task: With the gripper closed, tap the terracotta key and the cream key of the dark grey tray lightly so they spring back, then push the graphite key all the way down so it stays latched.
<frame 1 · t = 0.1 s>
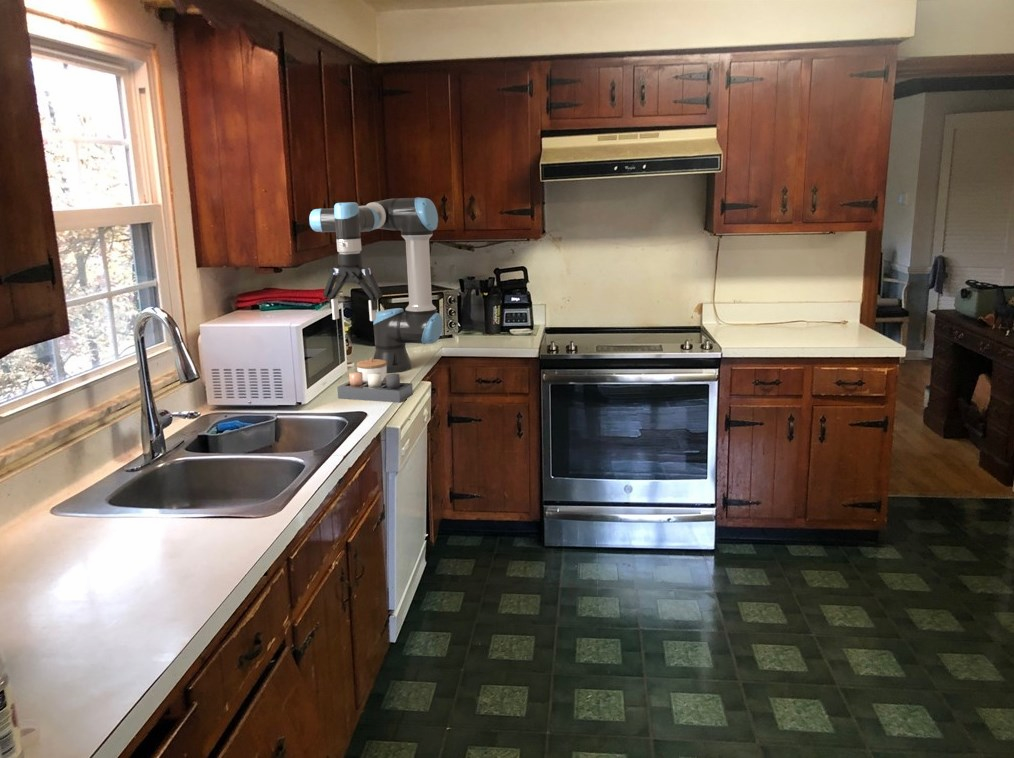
hand: (354, 319, 253), 28 cm above the worktop, fingers open, 13 cm apart
lidded jar: (373, 383, 287), on the worktop
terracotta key: (356, 380, 269), point 5 cm above the worktop, slide at 0.0 cm
cream key: (374, 381, 267), point 5 cm above the worktop, slide at 0.0 cm
dark grey tray: (375, 396, 268), on the worktop
graphite key: (393, 382, 265), point 5 cm above the worktop, slide at 0.0 cm
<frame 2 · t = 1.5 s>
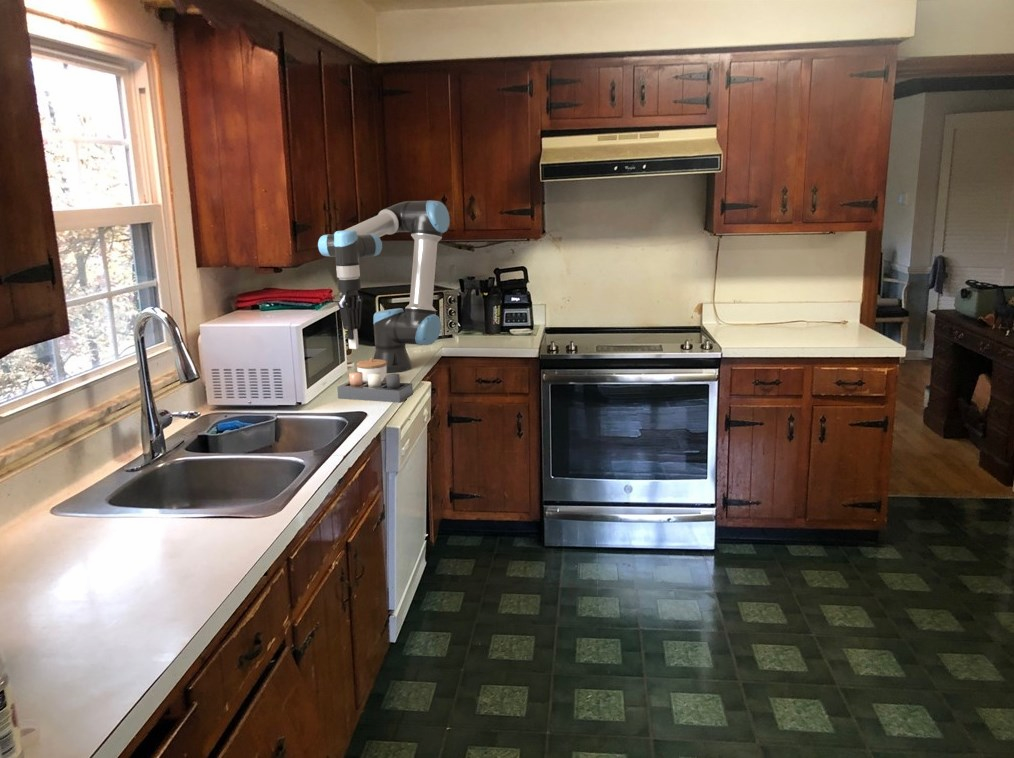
hand: (353, 348, 266), 16 cm above the worktop, fingers closed
nothing on the worktop moved.
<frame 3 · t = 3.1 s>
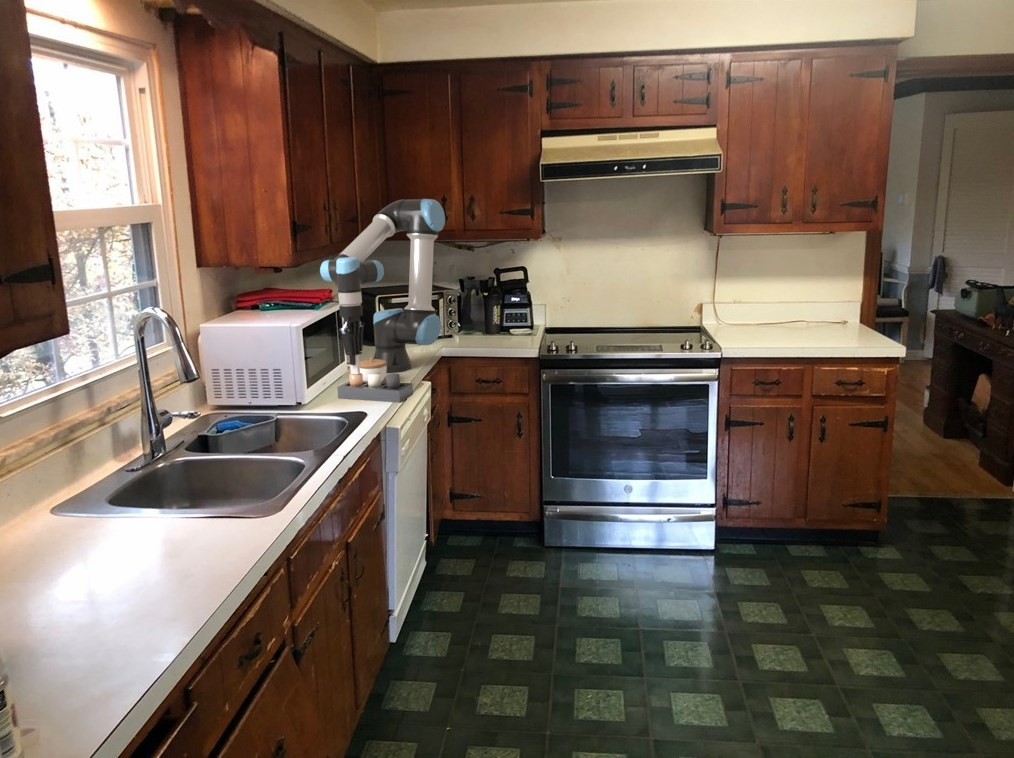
hand: (355, 373, 268), 8 cm above the worktop, fingers closed
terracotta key: (356, 381, 269), point 5 cm above the worktop, slide at 0.4 cm, touching gripper
everything else where it was.
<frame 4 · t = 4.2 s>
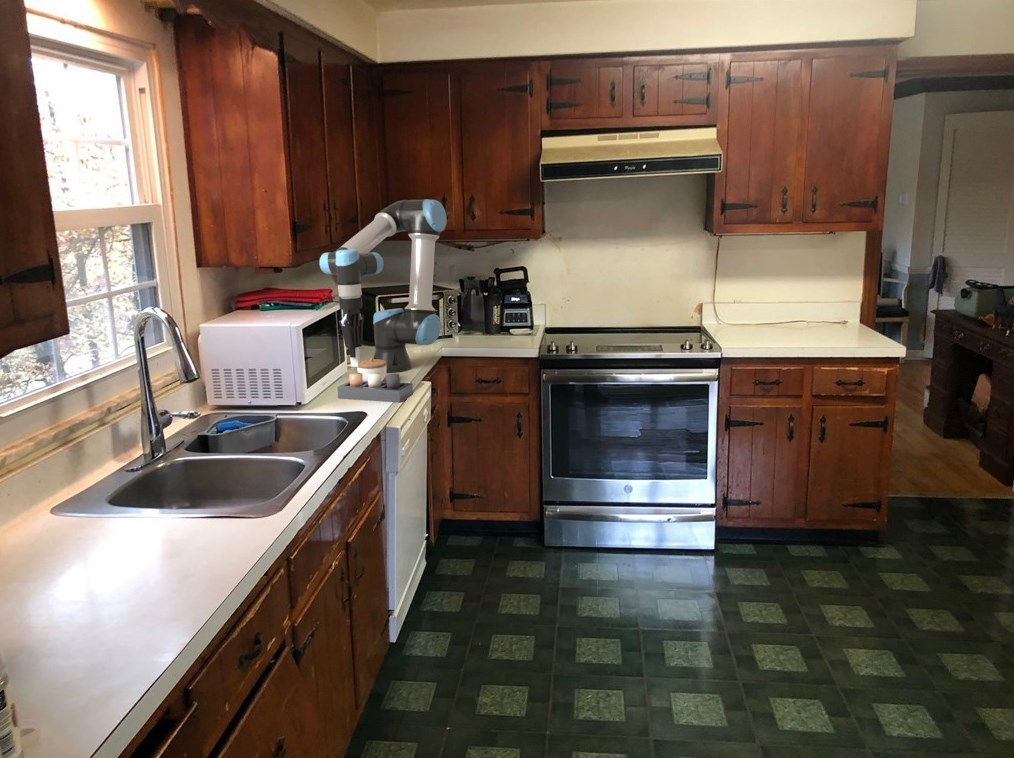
hand: (355, 366, 268), 10 cm above the worktop, fingers closed
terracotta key: (356, 381, 269), point 5 cm above the worktop, slide at 0.4 cm
everything else where it was.
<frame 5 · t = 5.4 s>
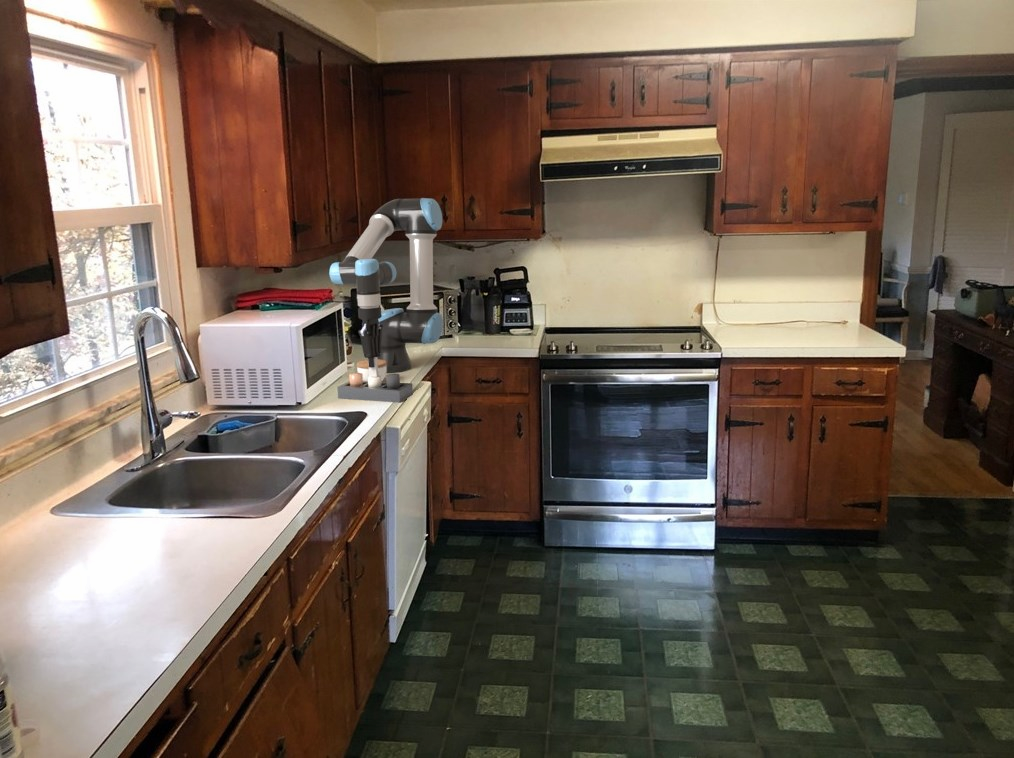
hand: (374, 376, 266), 7 cm above the worktop, fingers closed
cream key: (374, 384, 267), point 4 cm above the worktop, slide at 0.9 cm, touching gripper
everything else where it was.
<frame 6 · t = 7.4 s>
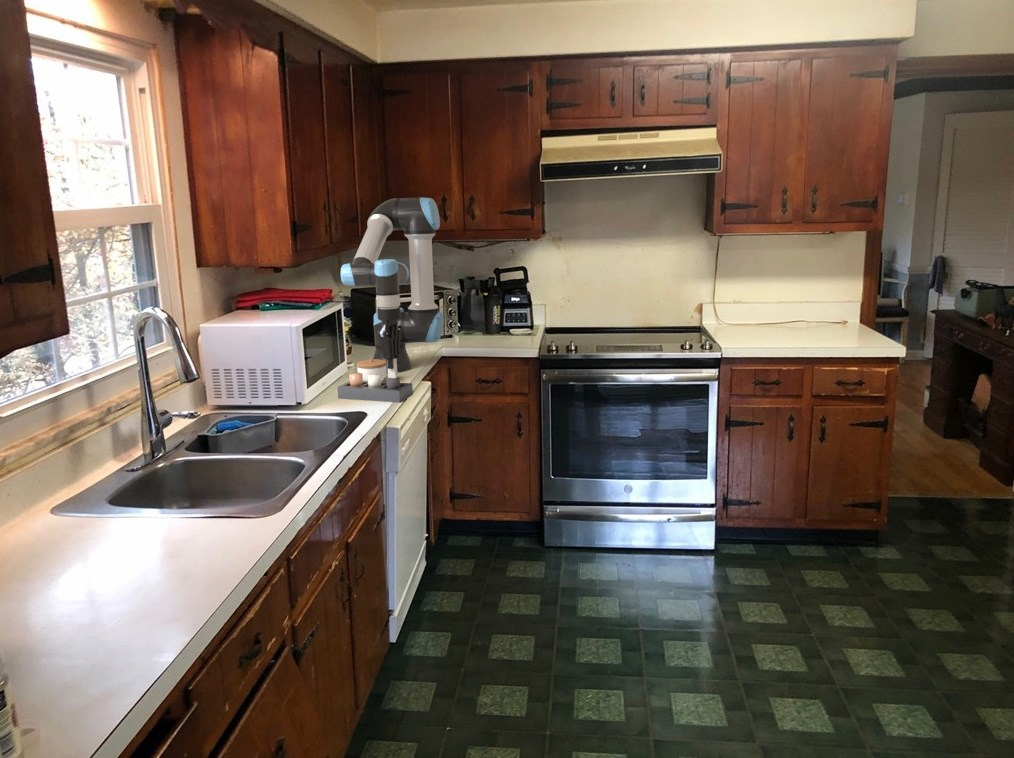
hand: (392, 377, 264), 7 cm above the worktop, fingers closed
cream key: (374, 382, 267), point 5 cm above the worktop, slide at 0.4 cm
graphite key: (393, 385, 265), point 4 cm above the worktop, slide at 1.0 cm, touching gripper
everything else where it was.
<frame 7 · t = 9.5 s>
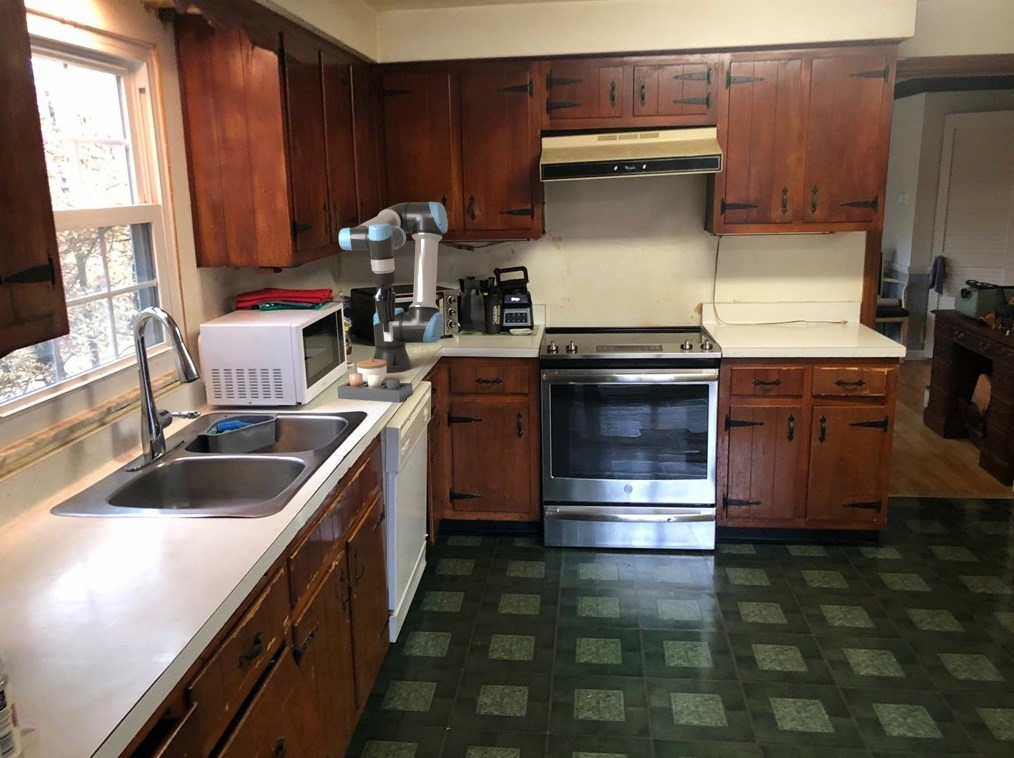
hand: (388, 340, 269), 18 cm above the worktop, fingers closed
graphite key: (393, 388, 265), point 3 cm above the worktop, slide at 2.0 cm
everything else where it was.
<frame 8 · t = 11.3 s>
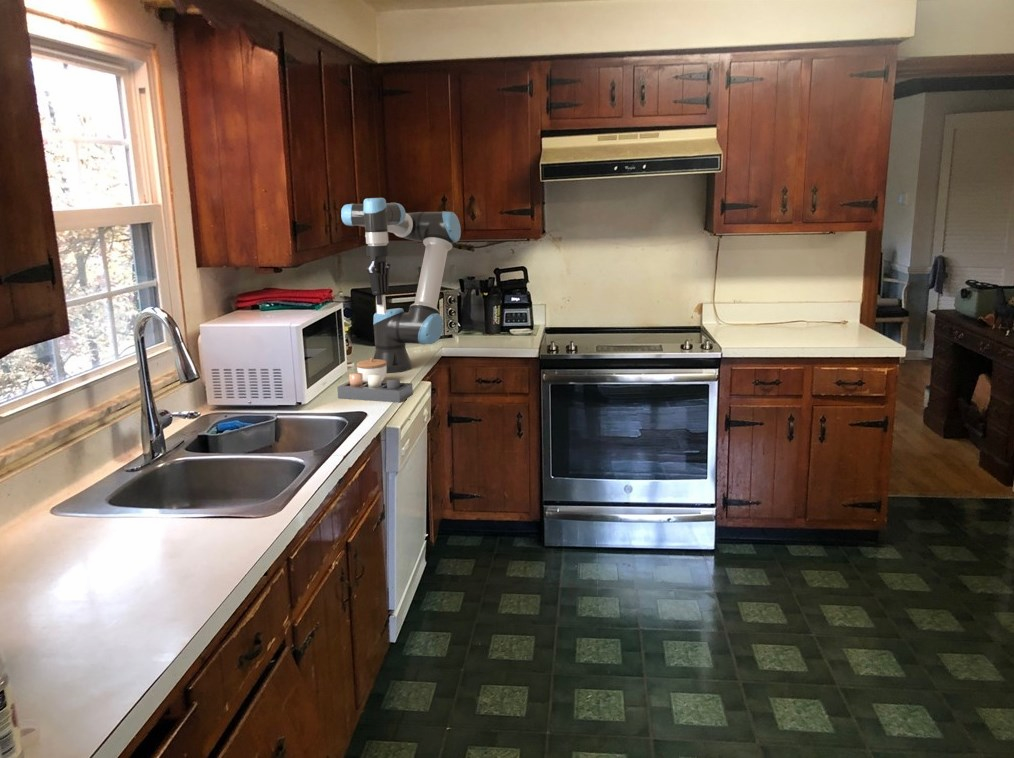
hand: (381, 313, 273), 26 cm above the worktop, fingers closed
nothing on the worktop moved.
at the end: graphite key slide at 2.0 cm; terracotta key slide at 0.4 cm; cream key slide at 0.4 cm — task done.
